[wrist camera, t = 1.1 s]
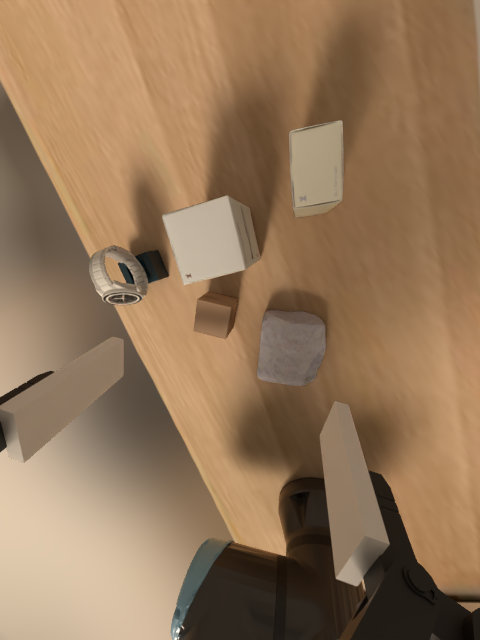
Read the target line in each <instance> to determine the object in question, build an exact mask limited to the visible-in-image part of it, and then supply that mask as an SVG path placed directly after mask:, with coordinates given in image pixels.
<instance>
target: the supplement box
mask: <svg viewBox="0 0 480 640" xmlns="http://www.w3.org/2000/svg"><path fill="white" fill-rule="evenodd" d="M162 218H163V222H164V225H165V228H166V231H167V234H168V237H169V240H170V244H171V247H172V250H173V254H174V257H175V259H176V263H177V266H178V269H179V272H180V275H181V278H182V282H183V284H184V285H187V284H191V283H196V282H200V281H204V280H208V279H212V278H216V277H220V276H223V275H227V274H231V273H235V272H239V271H242V270H246V269H247V268H249V267H250V266H251V265H253V264H254V263H256V262H257V261H258V260H260V259H261V256H260V253H259V249H258V245H257V241H256V236H255V232H254V227H253V222H252V217H251V211H250V208H249V207H248V206H246V205H244V204H242V203H240V202H239V201H237V200H235V199H233V198H232V197H230V196H228V195H226V196H223V197H220V198H217V199H214V200H210V201H207V202H204V203H200V204H197V205H193V206H190V207H186V208H183V209H179V210H176V211H173V212H169V213H166V214H163V215H162Z"/></svg>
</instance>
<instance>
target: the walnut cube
mask: <svg viewBox="0 0 480 640" xmlns="http://www.w3.org/2000/svg"><path fill="white" fill-rule="evenodd" d="M238 300H239V299H238V298H234V297H229V296H225V295H221V294H217V293H213V292H207V293H206V294H204V295H203V296H202V297H200V298H199V299H197V307H196V315H195V324H194V331H195V332H199V333H203V334H207V335H211V336H215V337H218V338H222V339H226V338H227V336H228V335H229V333H230V332H231V330H232V329H233V326H234V321H235V316H236V310H237V305H238Z"/></svg>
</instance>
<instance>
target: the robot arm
mask: <svg viewBox="0 0 480 640" xmlns="http://www.w3.org/2000/svg"><path fill="white" fill-rule="evenodd" d="M123 345H124V340H123V339H119V338H115V337H111V338H110V339H108V340H106V341H105V342H103V343H101V344H100V345H98V346H96V347H95V348H93V349H92V350H90V351H88V352H87V353H85V354H83V355H82V356H80V357H79V358H77V359H76V360H74V361H72V362H70V363H69V364H67V365H65V366H64V367H62V368H61V369H59V370H57V371H56V372H53V371H49V372H46V373H43V374H40V375H38V376H36V377H34V378H33V379H31V380H29V381H27V383H24V384H22V385H21V386H19V387H18V388H15V389H14V390H12V391H10V392H9V393H7V394H5V395H4V396H2V397H0V452H1V451H2V450H4V449H5V448H7V452H8V456H9V457H10V458H12V459H15V460H18V461H21V462H23V463H25V461H27V460H28V459H29V458H30V457H31V456H33V455H34V454H35V453H36V452H37V451H38V450H39V449H40V448H42V447H43V446H44V445H45V444H46V443H47V442H48V441H50V440H51V438H53V437H54V436H55V435H56V434H58V433H59V432H60V431H61V430H62V429H63V428H64V427H65V426H66V425H68V424H69V423H70V422H71V421H72V420H74V419H75V418H76V417H77V416H78V415H79V414H80V413H81V412H83V411H84V410H85V409H86V408H87V407H88V406H89V405H91V404H92V403H93V402H94V401H95V400H96V399H97V398H99V397H100V396H101V395H102V394H103V393H104V392H105V391H106V390H107V389H109V388H110V387H111V386H112V385H113V384H114V383H116V382H117V381H118V380H119V379H120V378H121V377H122V376H123ZM320 445H321V454H322V463H323V471H324V480H323V479H317V478H305V479H299V480H296V481H293V482H291V483H289V484H288V485H286V486H285V487H284V488H283V490H282V491H281V493H280V496H279V517H280V521H281V525H282V529H283V533H284V537H285V541H286V556H282V555H278V554H275V553H271V552H268V551H264V550H260V549H256V548H252V547H249V546H245V545H241V544H238V543H235V542H234V541H232V540H229V541H226V540H220V539H215V538H211V539H208V540H206V541H205V542H204V543H203V544H202V545H201V546H200V548H199V549H198V551H197V552H196V554H195V556H194V558H193V560H192V562H191V565H190V567H189V569H188V571H187V574H186V577H185V579H184V582H183V585H182V587H181V590H180V593H179V596H178V600H177V607H176V610H175V612H174V616H173V619H172V625H171V636H172V639H173V640H480V608H478V609H476V610H475V611H473V612H472V613H471V612H470V611H468V610H467V609H465V608H464V607H462V606H461V605H460V604H458V603H457V602H455V601H454V600H452V599H451V598H450V597H448V596H447V595H445V594H444V593H443V592H441V591H440V590H439V589H438V588H437V586H436V584H435V583H434V581H433V579H432V577H431V576H430V575H429V573H428V572H427V571H426V570H425V569H424V568H423V566H421V565H420V564H419V563H418V562H417V560H416V558H415V555H414V552H413V549H412V547H411V544H410V541H409V538H408V536H407V533H406V530H405V527H404V524H403V522H402V519H401V516H400V514H399V511H398V508H397V505H396V503H395V499H394V497H393V494H392V491H391V488H390V486H389V485H388V484H387V482H386V481H385V479H384V478H383V476H382V475H381V474H378V473H375V472H371V471H368V469H367V465H366V462H365V459H364V455H363V452H362V448H361V445H360V442H359V438H358V435H357V431H356V428H355V425H354V421H353V418H352V415H351V411H350V408H349V405H348V404H344V403H341V402H338V401H334V404H333V406H332V408H331V411H330V413H329V415H328V418H327V420H326V422H325V424H324V427H323V429H322V431H321V434H320ZM363 579H364V583H365V588H366V593H367V594H366V595H364V590H363V585H362V580H363Z"/></svg>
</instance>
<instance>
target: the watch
mask: <svg viewBox="0 0 480 640" xmlns="http://www.w3.org/2000/svg"><path fill="white" fill-rule="evenodd" d="M105 256H106V257H110V258H113V259H115V260H117V261H119V262H120V263H118V265H119V267H120V270H121V272H122V274H123V276H124V278H125V280H126V283H120V282H118V281H115V280H114V281H113V282H112V281H111V279H110V278H109V275H108V273H107V271H106V267H105V264H104V263H105V258H104V257H105ZM89 268H90V269H89V271H90V275H91V279H92V281H93V283H94V282H95V283H94V285H95V287H96V291H97V292H98V293H99V294H100V295H101V296H102V299H103V301H104V302H106V303H109V304H114V305H130V304H135V303H138V302H140V301H141V300H142V299H143V297H145V296H146V294H147V291H148V284H150V283H152V282H155V281H158V280H161V279H163V278H166V277H168V276H169V275H168V273H167V271H166V268H165V266H164V263H163V261H162V258H161V256H160V254H159V251H158V250H155V251H148V252H145V253H142V254H140V255H137V256H135V255H133V254H132V253H131V252H129V251H127V250H125V249H123V248H121V247H118V246H115V245H114V246H110V247H107V248H105V249H103V250H100V251H98V252H96V253H94V254H93V256H92V257H91V259H90V263H89ZM101 277H102V278H101ZM107 277H108V278H107Z"/></svg>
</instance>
